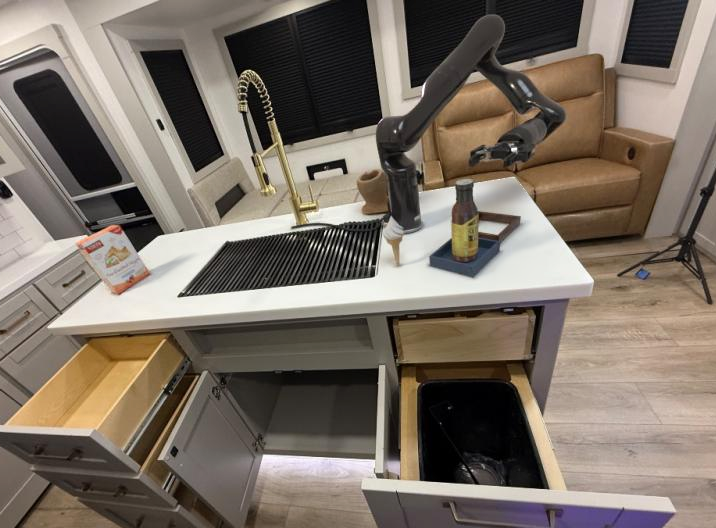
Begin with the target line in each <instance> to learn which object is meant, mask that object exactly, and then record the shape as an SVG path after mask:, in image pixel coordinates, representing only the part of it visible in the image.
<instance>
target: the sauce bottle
mask: <svg viewBox="0 0 716 528" xmlns="http://www.w3.org/2000/svg"><path fill="white" fill-rule="evenodd" d="M474 187H475V182H474V180H473V179H472V178H462V179H458V180H456V181H455V183H454V188H455V203H454V204H453V205H452V208H451V220H450V223H451V224H450V225H451V226H450V227H451V228H450V229H451V238H452V253H453V258H454V260H456V261H458V262H469V261H472V260H474V259H475V258H476V257H477V252H478V232H479V221H478V217H479V213H478V211H479V210H478V207H477V205H476V203H475V200H474Z"/></svg>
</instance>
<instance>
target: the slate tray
mask: <svg viewBox="0 0 716 528" xmlns="http://www.w3.org/2000/svg"><path fill="white" fill-rule="evenodd" d="M500 252H501V243H500V241H496V240H490V239H484V238H479V237H478V252H477V257H476V258H475V259H474V260H472V261H469V262H458V261H456V260H454V258H453V253H452V237H451V238H449V239H448V240H447V241H446V242H444V243H443V244H442V245H441V246H440V247H438V248H437V249H435V251H434V252H432V253H431V254H429V256H428V259H429V267H432V268H435V269H439V270H443V271H447V272H450V273H453V274H454V273H455V274H459V275H461V276H466V277H469V278H474V277H475V276H477V274H479V272H481V271H482V270H483V269H484V268H485V267H486V266H487V265H488V264H489V263H490V262H491V261H492V260H493V259H494V258H495V257H496V256H497V255H498V254H499V253H500Z"/></svg>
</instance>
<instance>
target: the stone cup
mask: <svg viewBox="0 0 716 528" xmlns="http://www.w3.org/2000/svg"><path fill="white" fill-rule="evenodd" d="M356 187H357V190H358V192H359V194H360V196H361V197H362V199H363V201H364V202H365V204H363V206H362V208H361V213H362V214H365V215H369V214H370V215H371V214H378V213H387V212H388V207H387V202H388V201H389V197H388V190H387V184H386V178H385V173H384V172H383V170H382V169H379V168H374V169H371V170H370V171H364V172H363V173H361V174H360V175H359V176H358V177H357V178H356Z"/></svg>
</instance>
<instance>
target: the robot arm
mask: <svg viewBox="0 0 716 528" xmlns="http://www.w3.org/2000/svg"><path fill="white" fill-rule="evenodd" d="M505 32H506V25H505V22H504V20H503V18H502V17H501V16H500V15H498V14H486V15H484V16H482V17H480V18H479V19H478V20H477V21H475V23H474V25H473V26H471V29H470V30H469V32H468V33H467V34H466V35H465V37H464V38H463V40H462V41H461V42H459V43H460V44H458V45H457V47H456V48H454V50H452V52H450V54H449V55H447V57H446V58H445V59H444V60H443V61H442V62H441V63H440V64H439V65H438V66H437V67H436V68H435V69H434V70H433V72H432V73H430V75H429V76H428V77H427V78H426V80H425V81H424V83H423V85H422V88H421V91H420V100H419V101H418V102H417V103H416V105H414V106H413V108H411V110H410V111H408V112H407V113H405V114H402V115H389V116H385V117H383V118H381V119H380V121H379V122H378V123H377V126H376V129H375V144H376V149H377V154H378V158H379V165H380V168H381V170H382V171H383V172H384V174H385V178H386V184H387V196H388V197H389V201H388V202H387V207H388V211H387V212H386V213H384V214H383V215H382V217H381V218H380V219H379V221H378V224H377V225H376V226H375V227H372V228H366V229H364V228H361V229H360V228H350V227H349V228H348V227H345V226H341V225H338V224H334V223H327V222H310V223H309V222H308V223H302V224H297V225H292V226H290V228H291V229H296V228H302V227H307V226H328V227H333V228H337V229H340V230H341V229H342V230H344V231H347V232H359V233H361V232H365V233H366V232H370V231H376V230H377V229H379V228H380V227H381V226H382V222H383V224H384V223H385V224H388V222H389V220H390V217H391V216H392V218H393V219H394V220H395V221H396V222H397V223H398V224H399V226H401V227H402V228H404V229H403V231H404V235H406V234H411V233H414V232H417V231H419V230H420V229H421V228H422V227H423V221H422V214H421V211H422V210H421V201H420V193H419V191H420V190H419V184H418V183H419V182H418V173H417V165H416V162H415V161H414V160H412V159H410V158H409V157H408V156H407V155H406V153H408V152H410V151H411V150H413V149H414V148H415V147H416V146H417V144H418V143H419V142H420V140H421V139H422V138H423V136H424V135H425V133H426V132H427V130H428V129H429V128H430V126H431V125H432V124H433V122H434V121H435V120H436V118H437V117H438V116H440V114H441V113H442V111H443V110H444V109H445V108H446V107H447V106H448V105H449V104H450V103H451V102H452V101H453V100H454V98H455V97H456V96H457V95H458V94H459V93H460V91H461V90H462V88H463V87H464V85H465V84H466V83H467V81H468V80H469V78H470V76H471V75H472V73H473V72H474V70H476V71H477V72H478V73H480V74H481V75H482V76H483V77H484V78H485V79H486V80H487V81H489V82H490V83H491V84H493V86H495V87H496V89H498V90H499V91H500V93H501V94H502V95H503V96H504V97H505V99H506V100H507V101H508V103H509V104H510V105H511V106H512V108H513V109H514V110H515V112H516V113H517V114H518V115H519V116H524V115H525V116H526V115H527V114H529V113H531V112H532V111H533V110H535V109H538V110H539V111H538V112H537V113H536V114H535V115H534V116H533V118H529V119H526V120H525V121H524V122H522V123H520V124H518V125H516V126H514V127H512V128H511V129H510V130H508V131H506V132H505V133H503V134H502V135H501V136H500V137H499V138H498V139H497V141H496V143H494V144H492V145H489V146H486V144H481V145H479V146H478V147H475V148H474V149H472V150H470V151H469V152H470V153H469V158H468V166H469V168H473V167H475V166H477V165H478V164H479V163H482V162H486V163H488V162H493V161H500V160H502V161H503V165H502V167H503V168H504V169H507V168H509V167H511V166H512V165H514V164H518V163H519V162H520V161H521V163H524V164H525V163H527V162H529V160H531V159H532V158H533V157H534V156H535V155H536V146H538V145H540V144H541V143H543V142H544V141H545V140H547V139H548V138H549V137H550V136H551V135H552V134H553V133H554V132H555V131H557V130H558V129H559V128H560V127H561V126H562V125H563V124H564V123H565V122H566V120H567V111H566V109H565V108H564V106H562V105H561V104H559V103H558V102H556V101H554V100H552V99H551V98H549V96H547V95H545V94H544V93H543V92H542V91H540V89H539V88H538V87H537V86H536V84H535V83H534V81H532V79H531V78H530V77H529V76H528V75H527V74H525V73H524V72H522V71H519V70H516V69H513V68H512V69H511V68H508V67H505V66H503V64H500V62H499V60H498V59H497V57H496V55H495V54H496V52H497V50H498V48H499V47H500V44H501V42H503V38H504V35H505ZM489 155H490V157H489Z"/></svg>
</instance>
